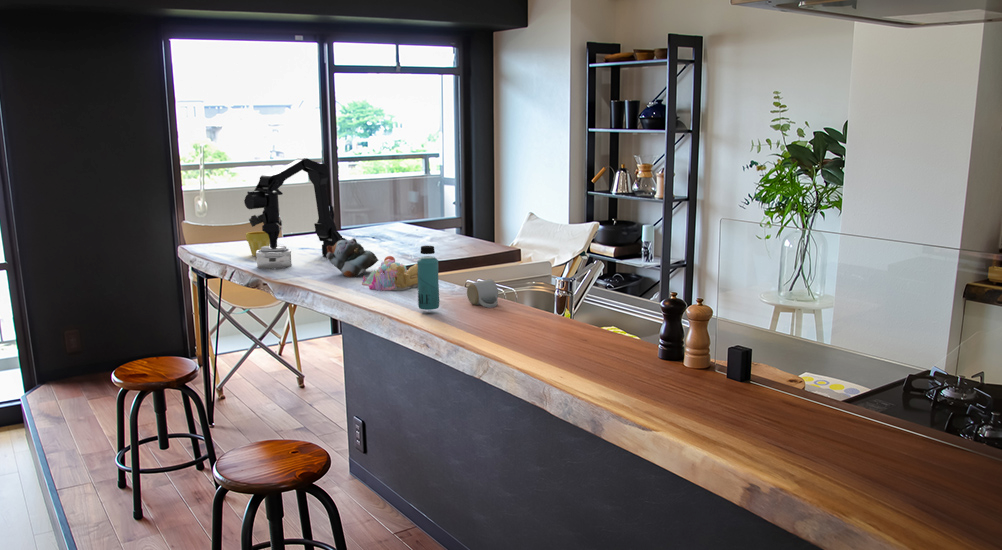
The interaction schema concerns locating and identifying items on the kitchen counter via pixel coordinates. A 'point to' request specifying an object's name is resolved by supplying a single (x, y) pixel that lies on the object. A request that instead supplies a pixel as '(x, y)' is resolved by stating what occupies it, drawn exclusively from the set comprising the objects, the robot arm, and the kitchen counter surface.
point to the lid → (273, 248)
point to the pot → (273, 259)
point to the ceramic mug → (483, 293)
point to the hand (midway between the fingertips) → (273, 246)
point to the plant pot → (257, 241)
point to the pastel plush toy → (392, 276)
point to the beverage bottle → (428, 280)
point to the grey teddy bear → (350, 257)
